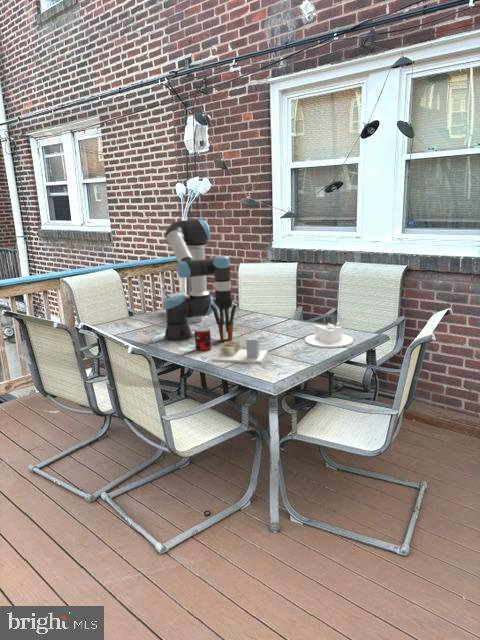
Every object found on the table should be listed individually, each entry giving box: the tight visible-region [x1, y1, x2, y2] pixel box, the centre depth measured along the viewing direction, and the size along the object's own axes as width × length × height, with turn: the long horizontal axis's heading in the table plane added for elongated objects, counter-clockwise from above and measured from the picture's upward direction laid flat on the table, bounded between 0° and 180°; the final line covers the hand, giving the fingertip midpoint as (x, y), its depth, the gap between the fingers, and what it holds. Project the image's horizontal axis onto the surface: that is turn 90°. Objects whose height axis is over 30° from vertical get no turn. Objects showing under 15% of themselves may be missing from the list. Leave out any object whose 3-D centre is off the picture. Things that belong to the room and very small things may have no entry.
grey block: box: [245, 336, 260, 358], centre depth 220 cm, size 5×5×9 cm
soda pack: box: [165, 291, 203, 325], centre depth 309 cm, size 41×13×14 cm, turn 23°
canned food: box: [194, 326, 212, 352], centre depth 237 cm, size 8×8×11 cm
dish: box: [304, 321, 354, 349], centre depth 242 cm, size 25×25×11 cm
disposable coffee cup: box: [217, 316, 235, 342], centre depth 252 cm, size 10×10×12 cm
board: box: [211, 348, 269, 364], centre depth 224 cm, size 24×16×1 cm, turn 75°
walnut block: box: [219, 341, 240, 356], centre depth 228 cm, size 7×4×10 cm
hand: (225, 338), depth 221 cm, fingers closed
